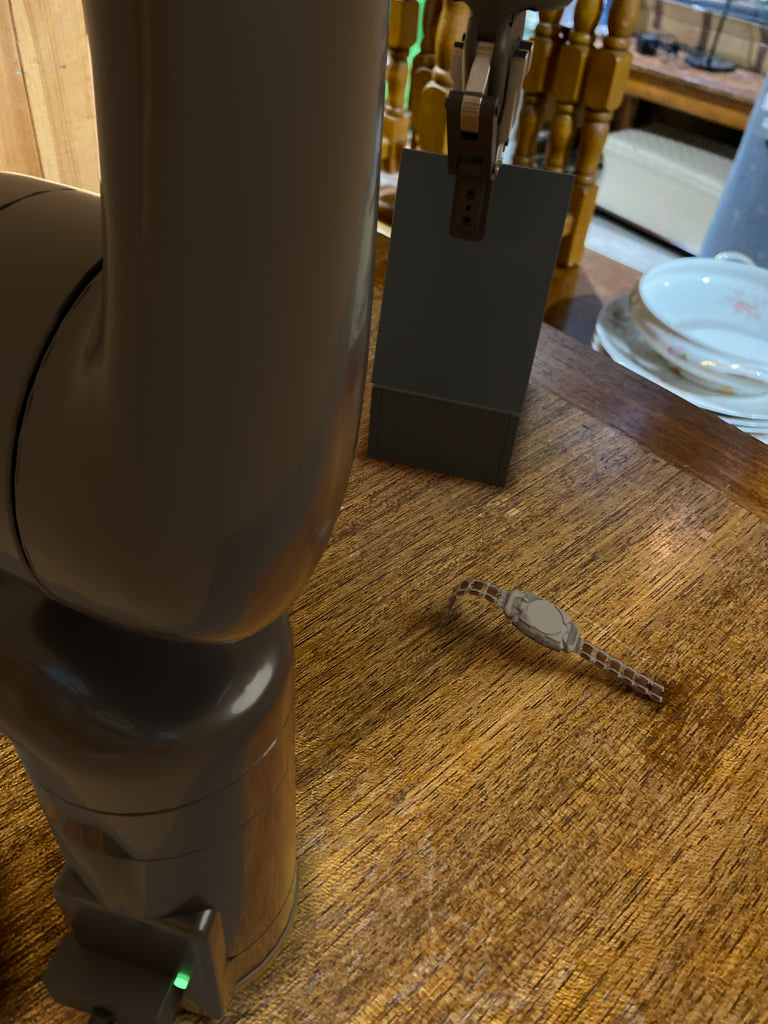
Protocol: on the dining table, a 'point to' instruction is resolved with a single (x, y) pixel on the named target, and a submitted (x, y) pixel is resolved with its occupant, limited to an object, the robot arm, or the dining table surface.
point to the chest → (441, 434)
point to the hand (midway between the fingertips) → (467, 235)
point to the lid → (468, 284)
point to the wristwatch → (552, 630)
